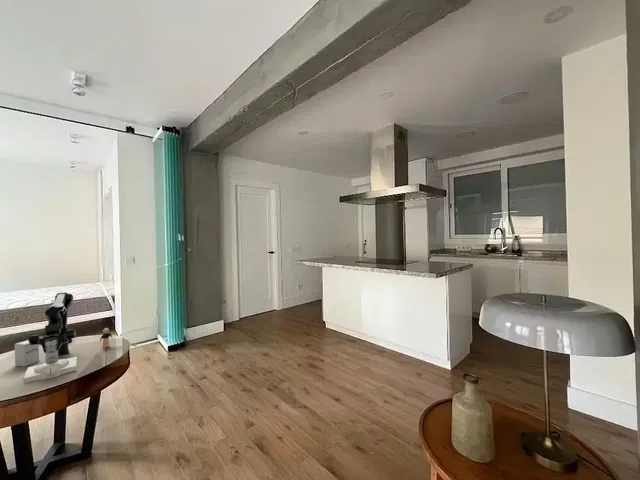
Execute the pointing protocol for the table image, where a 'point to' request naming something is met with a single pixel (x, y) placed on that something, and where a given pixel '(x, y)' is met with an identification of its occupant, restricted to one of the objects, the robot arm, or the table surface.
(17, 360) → the supplement box
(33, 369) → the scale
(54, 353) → the steel spacer stack
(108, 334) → the grandmother figurine
